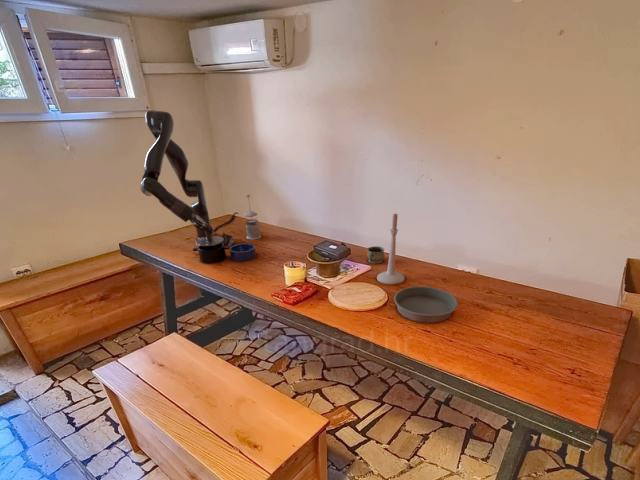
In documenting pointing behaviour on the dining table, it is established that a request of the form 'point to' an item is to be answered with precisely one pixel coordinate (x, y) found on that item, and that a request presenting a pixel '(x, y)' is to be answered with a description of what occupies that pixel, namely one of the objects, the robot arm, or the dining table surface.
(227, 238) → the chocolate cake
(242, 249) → the blue round bowl
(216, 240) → the lid
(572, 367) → the dining table surface
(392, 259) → the candlestick
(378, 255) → the vessel
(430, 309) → the cake pan
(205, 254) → the pot
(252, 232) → the french press
